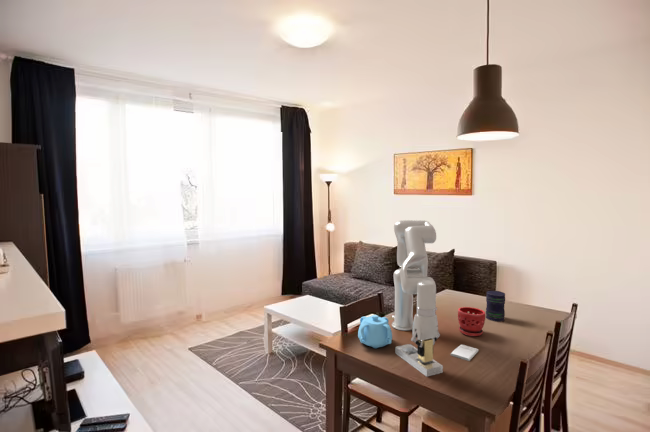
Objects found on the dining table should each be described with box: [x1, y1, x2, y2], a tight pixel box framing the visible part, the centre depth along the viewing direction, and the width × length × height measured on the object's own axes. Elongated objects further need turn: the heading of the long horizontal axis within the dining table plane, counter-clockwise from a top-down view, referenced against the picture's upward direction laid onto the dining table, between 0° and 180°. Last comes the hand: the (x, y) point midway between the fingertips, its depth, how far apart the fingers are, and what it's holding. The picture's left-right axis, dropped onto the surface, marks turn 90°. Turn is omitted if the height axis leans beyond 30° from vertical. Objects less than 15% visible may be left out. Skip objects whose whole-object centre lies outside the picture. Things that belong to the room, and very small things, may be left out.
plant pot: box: [457, 306, 486, 337], centre depth 184 cm, size 13×13×12 cm
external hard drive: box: [450, 344, 479, 362], centre depth 162 cm, size 2×8×12 cm
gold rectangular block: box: [418, 339, 434, 362], centre depth 149 cm, size 4×4×9 cm
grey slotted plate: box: [394, 343, 444, 377], centre depth 154 cm, size 22×8×3 cm, turn 23°
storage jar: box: [485, 290, 506, 323], centre depth 204 cm, size 10×10×15 cm
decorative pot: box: [357, 314, 393, 349], centre depth 173 cm, size 16×16×14 cm
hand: (425, 353), depth 149 cm, fingers closed on gold rectangular block, 4 cm apart
